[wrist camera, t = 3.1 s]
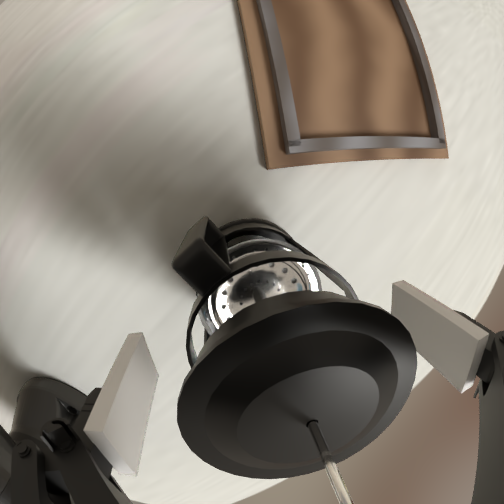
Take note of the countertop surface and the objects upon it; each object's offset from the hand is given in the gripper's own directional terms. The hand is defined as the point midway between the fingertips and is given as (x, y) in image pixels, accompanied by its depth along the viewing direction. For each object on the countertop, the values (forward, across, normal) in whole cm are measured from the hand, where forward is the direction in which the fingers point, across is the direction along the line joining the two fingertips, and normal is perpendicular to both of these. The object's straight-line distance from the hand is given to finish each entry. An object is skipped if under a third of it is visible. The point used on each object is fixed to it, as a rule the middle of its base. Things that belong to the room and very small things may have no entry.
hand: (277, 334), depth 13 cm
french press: (+12, 0, 0) cm, 12 cm away
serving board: (+12, +13, +19) cm, 26 cm away
